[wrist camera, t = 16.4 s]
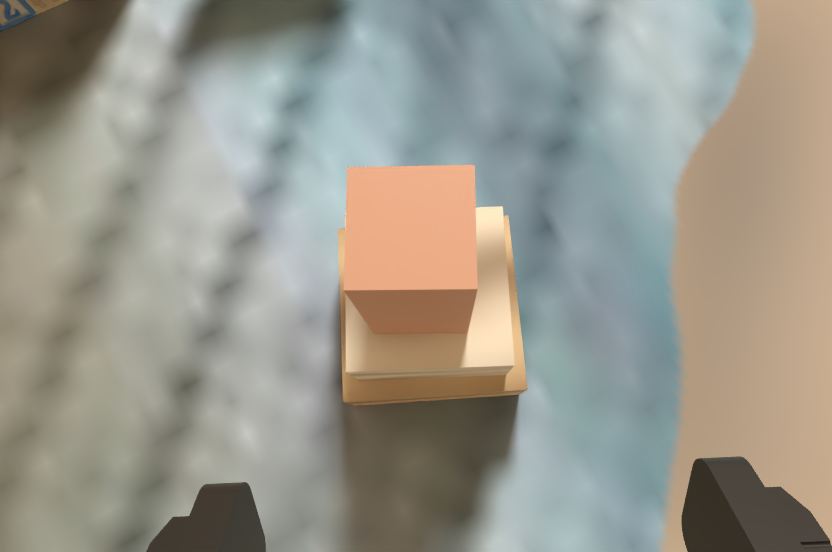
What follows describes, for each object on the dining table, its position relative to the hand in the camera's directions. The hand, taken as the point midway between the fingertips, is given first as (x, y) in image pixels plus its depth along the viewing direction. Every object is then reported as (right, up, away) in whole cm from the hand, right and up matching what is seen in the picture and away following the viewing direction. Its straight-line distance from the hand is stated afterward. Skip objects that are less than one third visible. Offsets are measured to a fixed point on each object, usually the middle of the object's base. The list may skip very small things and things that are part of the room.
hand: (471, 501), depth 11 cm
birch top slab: (0, +2, +23) cm, 23 cm away
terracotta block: (-1, +4, +18) cm, 19 cm away
